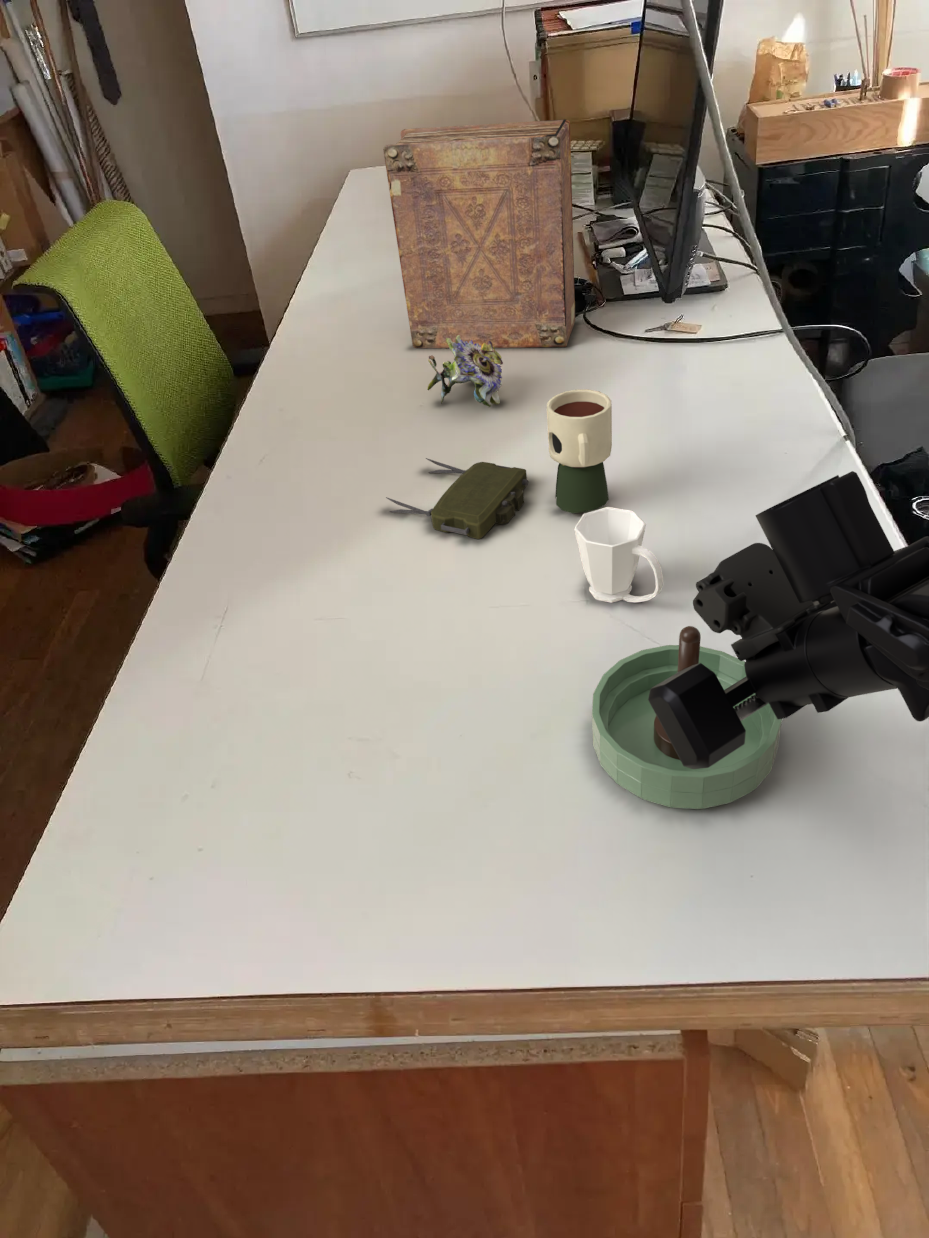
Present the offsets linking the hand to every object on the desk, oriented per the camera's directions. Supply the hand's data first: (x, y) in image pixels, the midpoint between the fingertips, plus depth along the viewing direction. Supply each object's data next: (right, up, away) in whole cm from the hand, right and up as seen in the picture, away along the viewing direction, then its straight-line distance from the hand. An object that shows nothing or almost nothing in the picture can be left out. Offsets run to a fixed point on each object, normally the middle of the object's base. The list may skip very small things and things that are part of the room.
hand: (706, 685), depth 73 cm
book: (-14, +51, +77) cm, 93 cm away
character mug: (-5, +19, +37) cm, 42 cm away
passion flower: (-19, +36, +60) cm, 73 cm away
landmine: (-19, +19, +40) cm, 48 cm away
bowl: (0, -5, +7) cm, 9 cm away
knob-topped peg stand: (0, -5, +6) cm, 8 cm away
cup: (-3, +8, +23) cm, 24 cm away
